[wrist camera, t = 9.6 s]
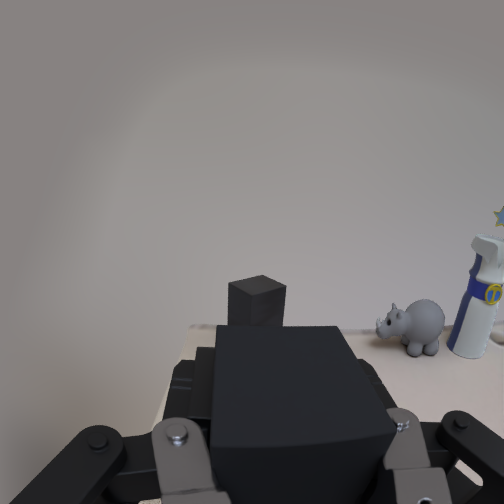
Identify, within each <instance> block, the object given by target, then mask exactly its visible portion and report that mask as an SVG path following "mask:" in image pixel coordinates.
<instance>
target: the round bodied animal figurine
mask: <svg viewBox="0 0 504 504" xmlns="http://www.w3.org/2000/svg"><path fill="white" fill-rule="evenodd" d="M444 322H445V316H444V313H443V311H442V309H441V308H440V306H439V305H438V304H436V303H435V302H433V301H431V300H427V299H425V300H423V299H422V300H418V301H416V302H414V303H412V304H411V305H410V306H409V307H408V308H407V309H406V311H405V312H404V311H402V310H399V309H397V308H396V306H395V304H394V303H393V304H392V310H391V311H390V312H389V313H388V314H387V317H386V319H385V320H382V322H380V317H379V318H378V319H377V321H376V326H377V328H376V333H377V335H378V337H380V338H381V339H388V338H389V337H391V336H401V335H402V337H401V342H402V343H403V344H405V345H408V348H407V353H408V354H409V355H412V356H419V355H420V354H421V353H422V350H423V351H424V353H425V354H428V355H435V354H436V353H437V352H438V348H439V342H438V337H439V336H440V334H441V333H442V330H443V328H444ZM423 345H424V348H423Z"/></svg>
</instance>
